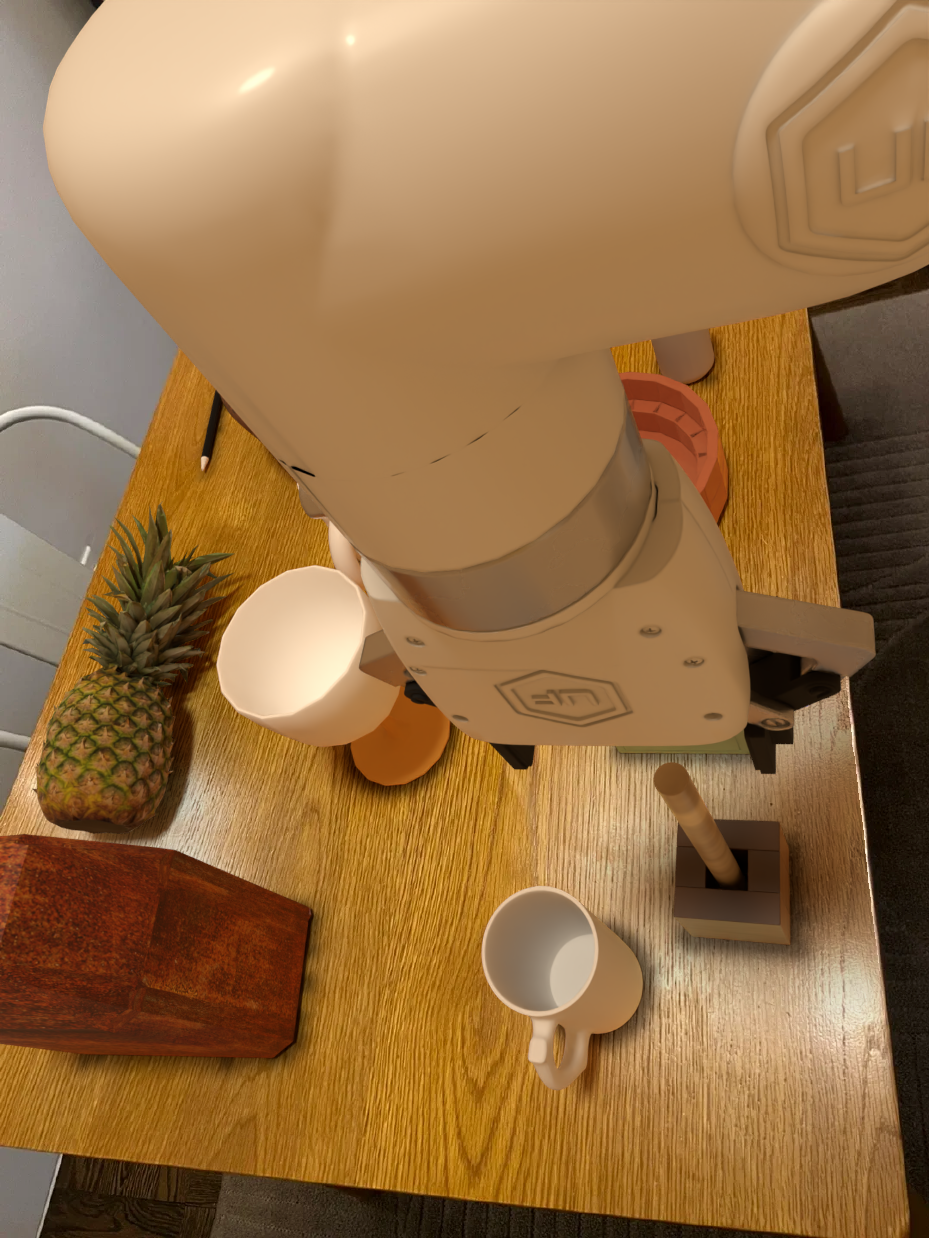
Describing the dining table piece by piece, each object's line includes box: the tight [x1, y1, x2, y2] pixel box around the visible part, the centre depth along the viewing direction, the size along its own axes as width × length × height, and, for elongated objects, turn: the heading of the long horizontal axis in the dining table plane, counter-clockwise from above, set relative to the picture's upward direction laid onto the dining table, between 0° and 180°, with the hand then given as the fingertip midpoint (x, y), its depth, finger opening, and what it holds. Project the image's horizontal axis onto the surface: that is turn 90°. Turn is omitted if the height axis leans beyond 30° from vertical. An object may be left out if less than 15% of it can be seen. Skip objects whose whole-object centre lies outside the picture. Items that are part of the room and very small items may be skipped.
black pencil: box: [200, 389, 222, 472], centre depth 105 cm, size 1×19×1 cm, turn 178°
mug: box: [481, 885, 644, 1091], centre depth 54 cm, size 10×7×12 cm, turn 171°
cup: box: [216, 564, 451, 787], centre depth 67 cm, size 12×12×17 cm
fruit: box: [32, 500, 236, 835], centre depth 82 cm, size 14×12×30 cm
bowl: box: [618, 371, 729, 524], centre depth 74 cm, size 18×18×6 cm
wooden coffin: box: [0, 833, 312, 1059], centre depth 56 cm, size 10×19×35 cm, turn 87°
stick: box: [653, 761, 748, 891], centre depth 50 cm, size 2×2×22 cm
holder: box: [673, 818, 791, 946], centre depth 56 cm, size 6×6×6 cm
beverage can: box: [650, 329, 715, 385], centre depth 76 cm, size 5×5×12 cm
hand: (641, 736), depth 37 cm, fingers open, 9 cm apart
